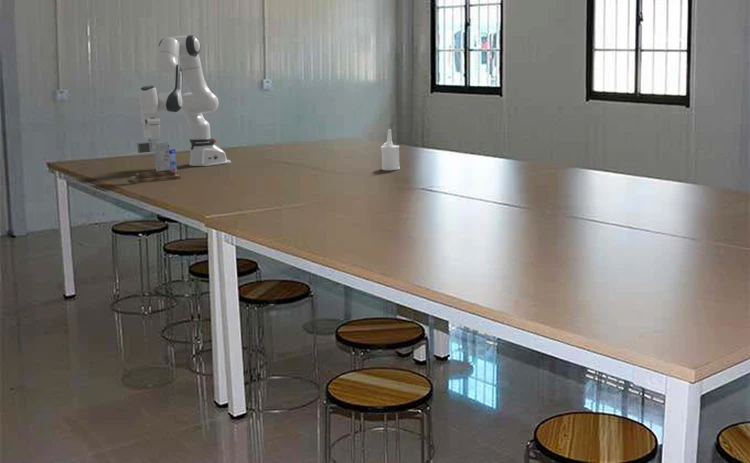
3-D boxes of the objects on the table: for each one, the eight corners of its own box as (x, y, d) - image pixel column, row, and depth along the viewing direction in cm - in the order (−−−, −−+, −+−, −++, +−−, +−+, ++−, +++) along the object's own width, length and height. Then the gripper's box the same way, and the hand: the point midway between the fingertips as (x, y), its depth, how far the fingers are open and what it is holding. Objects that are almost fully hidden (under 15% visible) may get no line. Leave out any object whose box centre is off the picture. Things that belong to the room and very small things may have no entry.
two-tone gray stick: (139, 152, 441) (138, 143, 441) (138, 152, 445) (137, 143, 444) (168, 150, 447) (167, 141, 446) (166, 149, 451) (165, 140, 450)
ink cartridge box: (177, 172, 470) (175, 144, 467) (170, 174, 465) (168, 145, 462) (163, 171, 475) (160, 144, 472) (155, 173, 470) (153, 145, 467)
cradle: (174, 175, 459) (174, 168, 458) (180, 178, 448) (180, 171, 448) (130, 179, 450) (130, 172, 449) (135, 183, 439) (135, 175, 438)
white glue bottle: (403, 169, 453) (402, 129, 449) (387, 171, 449) (386, 130, 444) (392, 166, 462) (391, 127, 458) (376, 168, 457) (375, 129, 453)
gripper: (139, 118, 451) (141, 146, 454) (148, 121, 433) (150, 150, 435) (152, 117, 453) (154, 145, 456) (161, 120, 435) (163, 149, 438)
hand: (152, 147), depth 446 cm, fingers closed on two-tone gray stick, 3 cm apart
